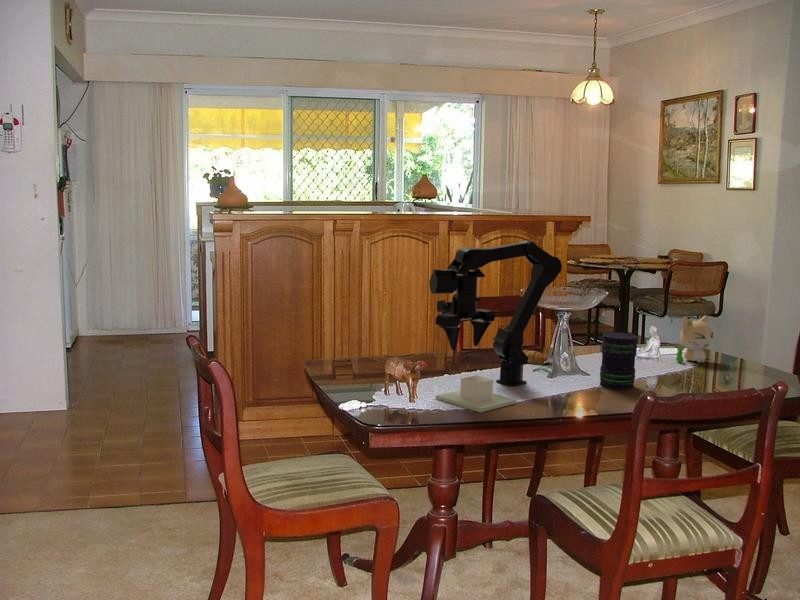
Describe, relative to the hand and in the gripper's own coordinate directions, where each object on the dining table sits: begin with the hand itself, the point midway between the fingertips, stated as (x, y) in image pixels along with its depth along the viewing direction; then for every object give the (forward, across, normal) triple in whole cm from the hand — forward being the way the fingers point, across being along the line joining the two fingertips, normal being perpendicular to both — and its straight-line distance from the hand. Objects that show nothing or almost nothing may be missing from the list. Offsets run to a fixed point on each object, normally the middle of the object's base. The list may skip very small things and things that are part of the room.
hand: (464, 347), depth 237 cm
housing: (+10, +9, +13) cm, 19 cm away
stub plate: (+11, +9, +13) cm, 19 cm away
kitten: (+11, -86, +24) cm, 90 cm away
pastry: (+11, -42, -8) cm, 44 cm away
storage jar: (+11, -36, +27) cm, 46 cm away
